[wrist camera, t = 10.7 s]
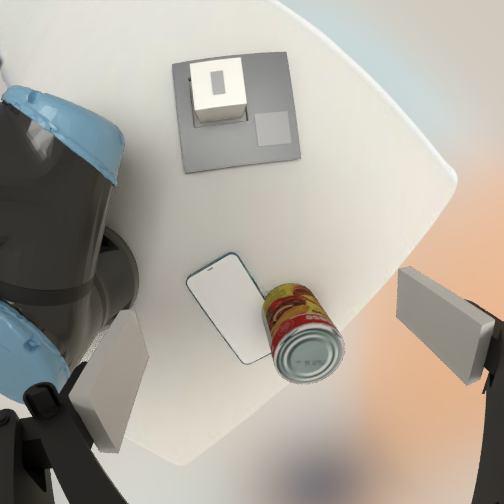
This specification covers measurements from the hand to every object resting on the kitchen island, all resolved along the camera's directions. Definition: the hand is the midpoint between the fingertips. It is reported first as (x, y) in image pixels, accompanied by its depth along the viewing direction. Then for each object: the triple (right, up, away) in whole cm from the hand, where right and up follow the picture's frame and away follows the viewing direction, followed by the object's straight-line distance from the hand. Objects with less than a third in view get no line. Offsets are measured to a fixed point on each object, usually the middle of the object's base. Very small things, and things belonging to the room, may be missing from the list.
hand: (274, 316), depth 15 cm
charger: (-5, +22, +22) cm, 31 cm away
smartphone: (-3, -5, +29) cm, 30 cm away
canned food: (+4, -5, +30) cm, 30 cm away
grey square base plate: (-3, +20, +22) cm, 30 cm away
